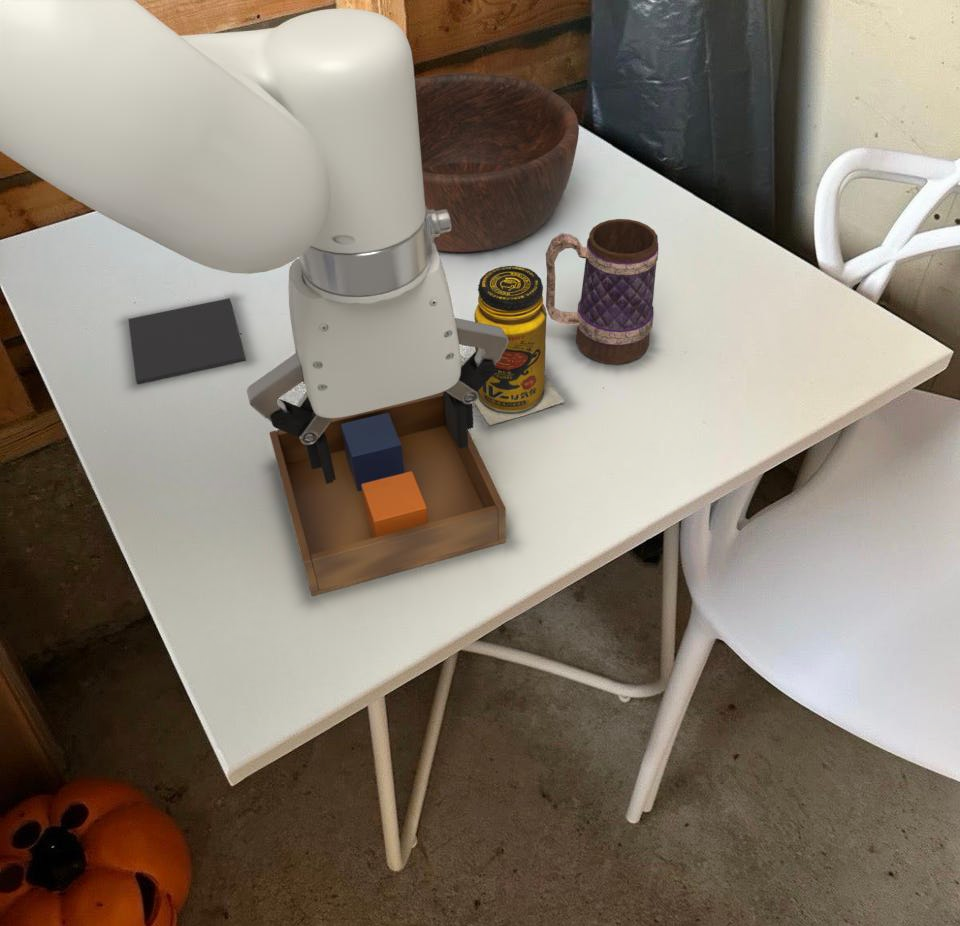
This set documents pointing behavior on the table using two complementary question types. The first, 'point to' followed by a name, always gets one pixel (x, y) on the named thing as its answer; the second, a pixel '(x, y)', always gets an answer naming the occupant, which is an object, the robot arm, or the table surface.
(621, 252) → the mug
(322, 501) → the tray
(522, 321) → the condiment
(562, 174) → the wooden bowl
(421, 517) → the orange cube
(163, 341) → the mat
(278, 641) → the table surface
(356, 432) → the blue cube
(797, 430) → the table surface
